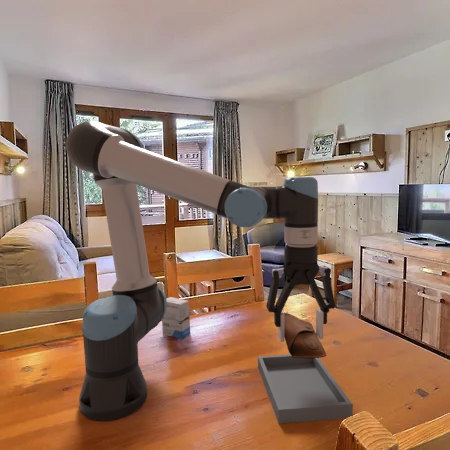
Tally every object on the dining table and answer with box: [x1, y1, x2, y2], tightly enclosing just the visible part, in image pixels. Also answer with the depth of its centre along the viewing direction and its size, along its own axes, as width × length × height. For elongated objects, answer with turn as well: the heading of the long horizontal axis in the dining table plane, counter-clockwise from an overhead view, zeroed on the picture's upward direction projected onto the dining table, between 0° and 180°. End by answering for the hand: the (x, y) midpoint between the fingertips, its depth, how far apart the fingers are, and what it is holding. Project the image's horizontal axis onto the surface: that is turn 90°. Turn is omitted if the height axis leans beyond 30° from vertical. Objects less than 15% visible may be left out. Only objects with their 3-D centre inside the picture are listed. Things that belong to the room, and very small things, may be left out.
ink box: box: [161, 296, 191, 340], centre depth 118 cm, size 9×5×12 cm, turn 58°
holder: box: [257, 353, 354, 424], centre depth 86 cm, size 16×23×3 cm
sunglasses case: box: [283, 312, 327, 359], centre depth 84 cm, size 18×7×7 cm
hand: (300, 337), depth 85 cm, fingers closed on sunglasses case, 9 cm apart
